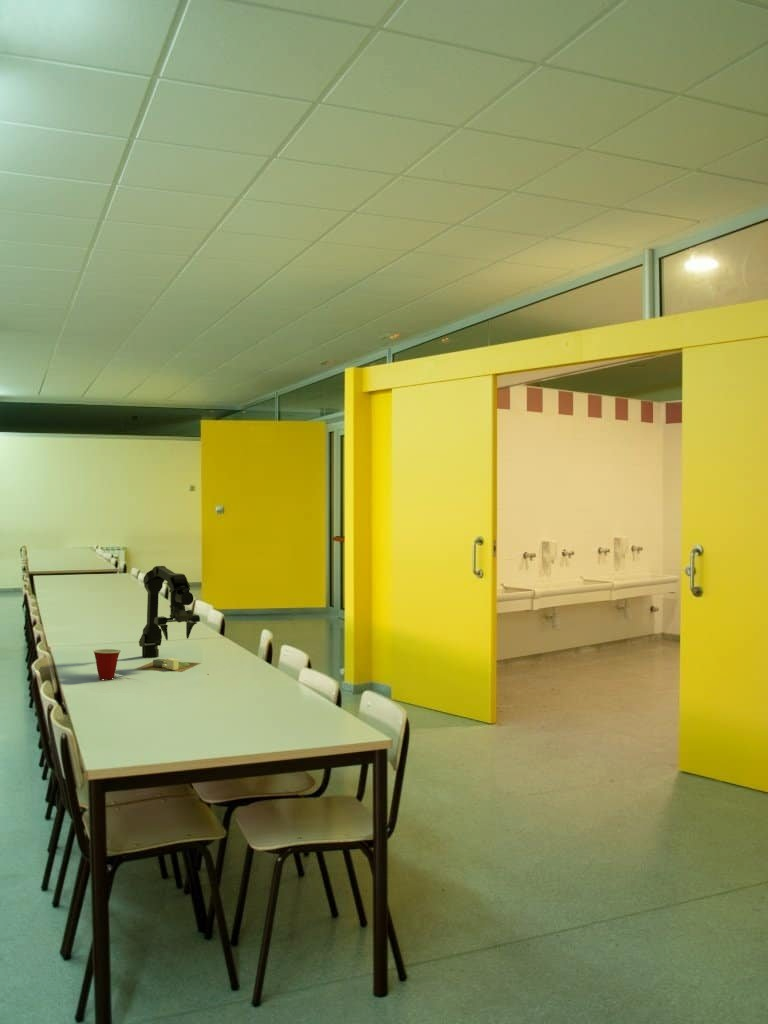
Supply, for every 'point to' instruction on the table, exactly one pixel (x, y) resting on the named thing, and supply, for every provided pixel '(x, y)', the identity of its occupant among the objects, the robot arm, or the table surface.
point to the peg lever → (166, 663)
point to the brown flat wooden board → (181, 667)
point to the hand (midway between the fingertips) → (177, 639)
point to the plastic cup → (106, 662)
